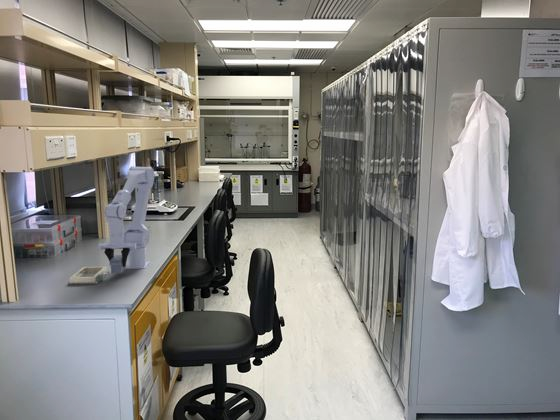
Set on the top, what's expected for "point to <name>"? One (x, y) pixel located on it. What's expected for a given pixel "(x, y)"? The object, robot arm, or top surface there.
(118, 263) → the block
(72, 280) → the frame
